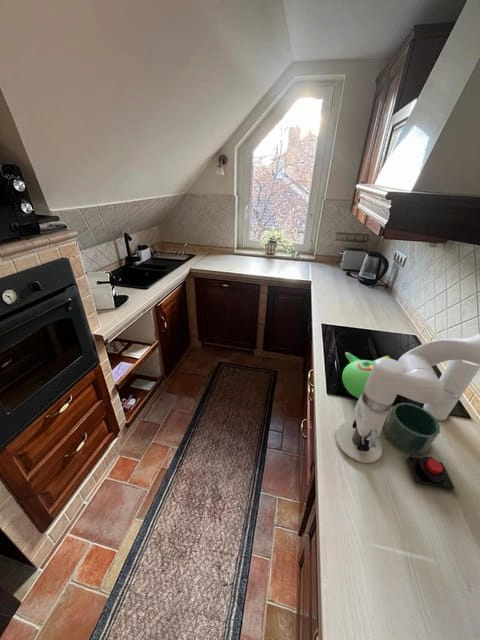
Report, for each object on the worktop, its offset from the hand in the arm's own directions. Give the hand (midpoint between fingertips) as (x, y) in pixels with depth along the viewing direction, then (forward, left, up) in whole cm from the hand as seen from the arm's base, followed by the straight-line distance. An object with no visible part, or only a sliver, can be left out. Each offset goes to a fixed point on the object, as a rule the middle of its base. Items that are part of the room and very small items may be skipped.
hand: (359, 438), depth 79 cm
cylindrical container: (-30, -19, -3) cm, 36 cm away
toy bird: (-6, -23, -3) cm, 24 cm away
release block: (-18, +6, -2) cm, 19 cm away
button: (-18, +6, +1) cm, 19 cm away
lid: (0, 0, -2) cm, 2 cm away
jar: (-16, -6, -2) cm, 17 cm away
